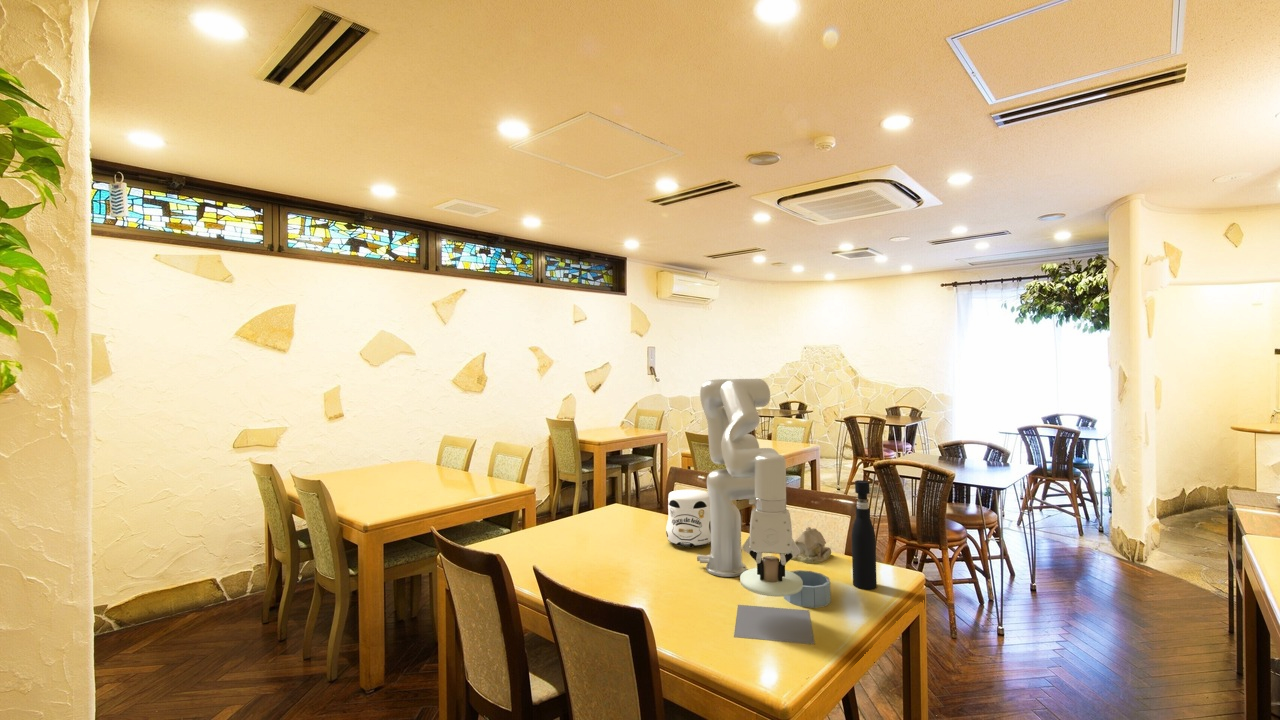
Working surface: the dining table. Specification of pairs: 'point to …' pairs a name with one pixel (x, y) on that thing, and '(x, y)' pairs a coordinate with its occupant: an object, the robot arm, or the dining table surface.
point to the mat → (774, 624)
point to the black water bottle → (863, 542)
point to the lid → (771, 580)
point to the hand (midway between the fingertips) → (771, 577)
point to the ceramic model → (811, 547)
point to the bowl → (811, 590)
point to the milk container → (688, 518)
